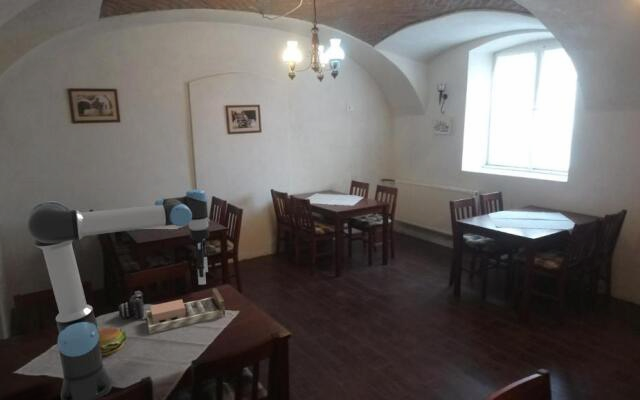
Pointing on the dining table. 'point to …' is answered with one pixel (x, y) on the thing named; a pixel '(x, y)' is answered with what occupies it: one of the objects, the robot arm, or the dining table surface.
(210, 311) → the roller bed
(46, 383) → the dining table surface
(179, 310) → the slab
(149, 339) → the dining table surface
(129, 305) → the camera
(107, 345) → the food
